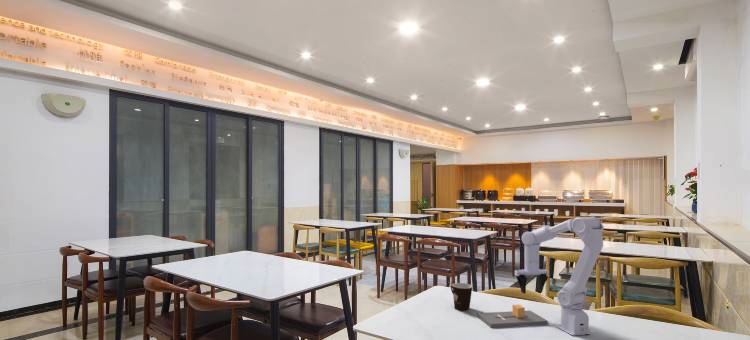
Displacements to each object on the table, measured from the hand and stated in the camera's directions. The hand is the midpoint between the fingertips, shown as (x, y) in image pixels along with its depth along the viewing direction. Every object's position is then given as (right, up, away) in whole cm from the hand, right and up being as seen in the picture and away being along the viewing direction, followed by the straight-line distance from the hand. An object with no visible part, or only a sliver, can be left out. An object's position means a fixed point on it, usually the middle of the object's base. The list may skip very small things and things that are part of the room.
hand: (531, 292), depth 164 cm
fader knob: (-8, -7, -6) cm, 13 cm away
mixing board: (-11, -9, -7) cm, 16 cm away
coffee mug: (-28, -9, +8) cm, 31 cm away
